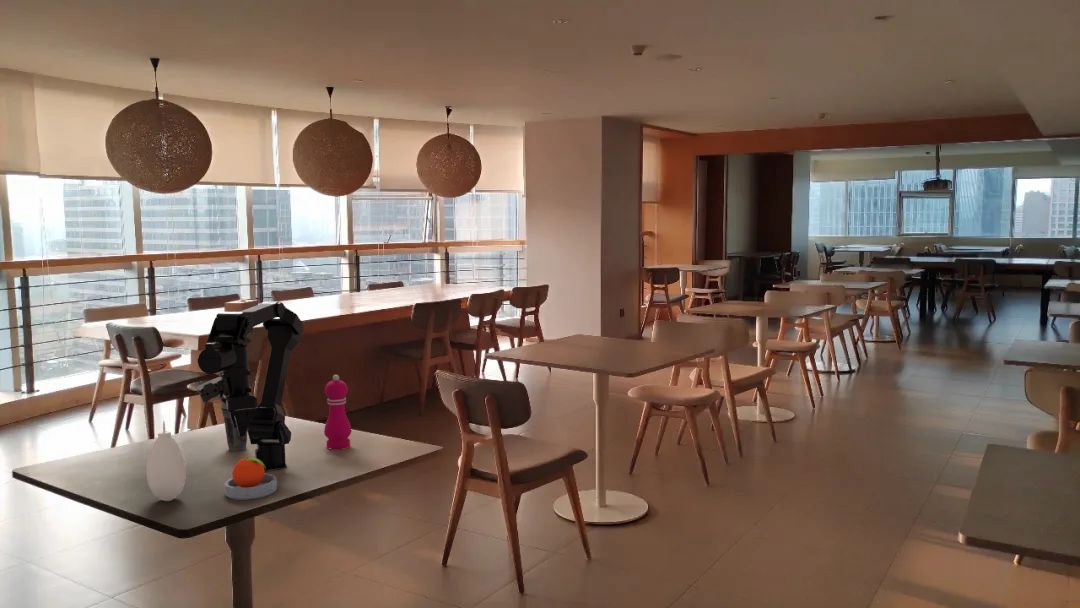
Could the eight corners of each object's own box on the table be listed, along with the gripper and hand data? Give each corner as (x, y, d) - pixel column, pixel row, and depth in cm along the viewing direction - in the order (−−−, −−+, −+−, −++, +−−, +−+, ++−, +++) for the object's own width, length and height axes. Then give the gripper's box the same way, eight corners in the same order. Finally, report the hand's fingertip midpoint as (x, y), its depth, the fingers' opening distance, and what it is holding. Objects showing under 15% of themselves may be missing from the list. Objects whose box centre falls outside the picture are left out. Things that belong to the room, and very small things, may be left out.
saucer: (273, 481, 194) (272, 470, 194) (280, 495, 185) (279, 483, 184) (223, 488, 190) (223, 477, 189) (228, 502, 180) (227, 491, 180)
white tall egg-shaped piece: (141, 502, 181) (136, 422, 179) (173, 492, 188) (168, 414, 186) (162, 508, 177) (158, 426, 175) (194, 497, 183) (190, 418, 182)
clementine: (275, 483, 189) (273, 453, 189) (259, 493, 183) (257, 462, 182) (243, 482, 191) (242, 452, 190) (226, 491, 184) (225, 460, 184)
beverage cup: (257, 447, 224) (254, 375, 222) (234, 453, 218) (231, 380, 216) (240, 443, 228) (236, 373, 226) (217, 450, 222) (213, 377, 220)
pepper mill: (339, 441, 229) (337, 371, 227) (357, 445, 225) (355, 373, 223) (319, 447, 224) (316, 375, 222) (336, 451, 219) (334, 378, 217)
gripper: (193, 362, 194) (197, 427, 195) (202, 376, 177) (206, 446, 179) (243, 358, 199) (246, 421, 201) (255, 371, 182) (259, 439, 184)
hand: (239, 431), depth 191 cm, fingers open, 9 cm apart
